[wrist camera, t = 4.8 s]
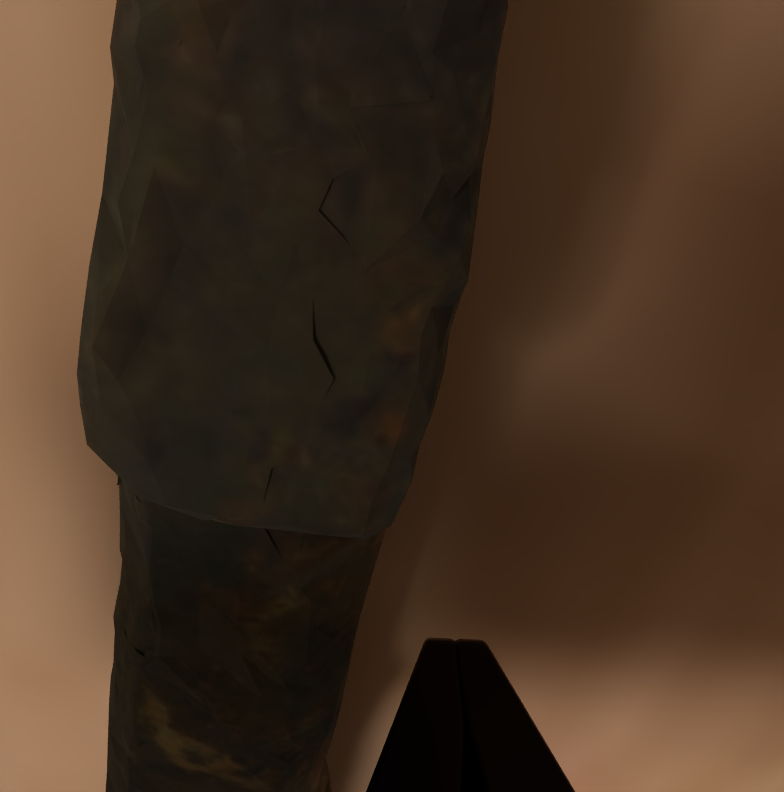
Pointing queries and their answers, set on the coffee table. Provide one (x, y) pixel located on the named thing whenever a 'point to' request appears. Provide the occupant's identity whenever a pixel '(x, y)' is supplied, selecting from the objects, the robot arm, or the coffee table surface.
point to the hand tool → (269, 352)
